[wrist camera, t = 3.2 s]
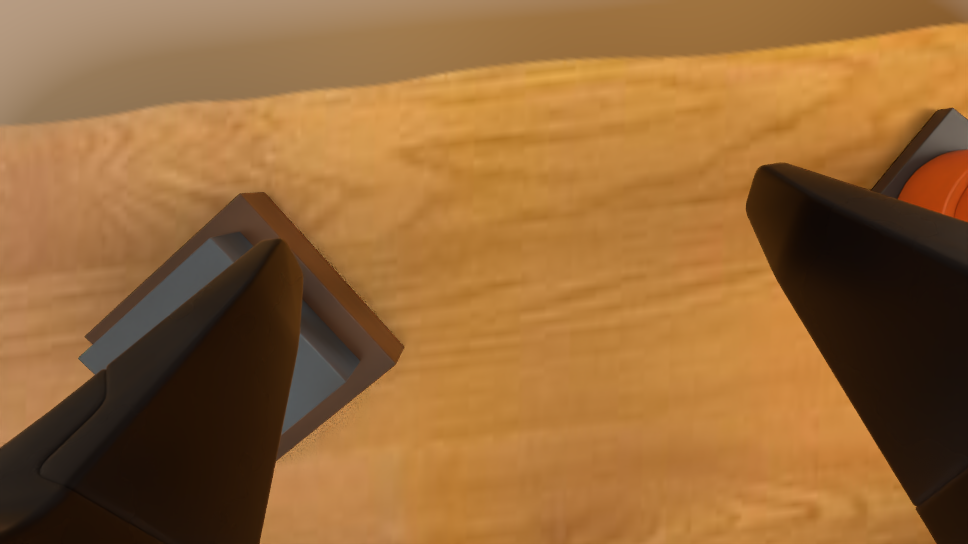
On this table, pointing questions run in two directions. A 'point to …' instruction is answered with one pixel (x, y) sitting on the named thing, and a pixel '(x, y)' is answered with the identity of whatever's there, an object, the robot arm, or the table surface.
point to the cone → (933, 167)
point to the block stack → (323, 328)
